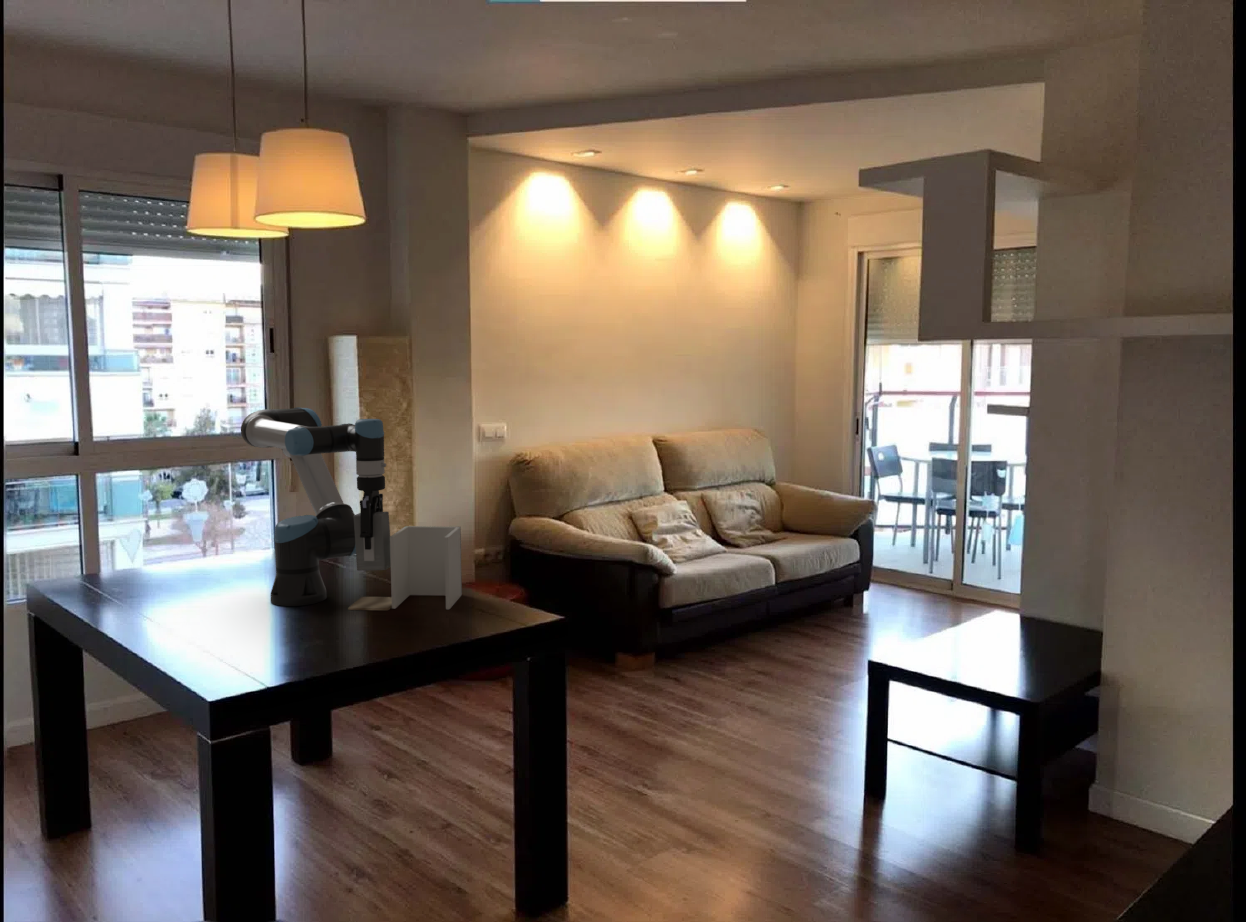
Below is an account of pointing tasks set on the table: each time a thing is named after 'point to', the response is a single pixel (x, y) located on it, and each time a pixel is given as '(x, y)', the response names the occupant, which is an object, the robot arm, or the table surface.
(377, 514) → the skincare box
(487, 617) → the table surface
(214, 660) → the table surface
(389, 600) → the cork coaster
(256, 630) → the table surface
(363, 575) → the table surface
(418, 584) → the shelf bay
